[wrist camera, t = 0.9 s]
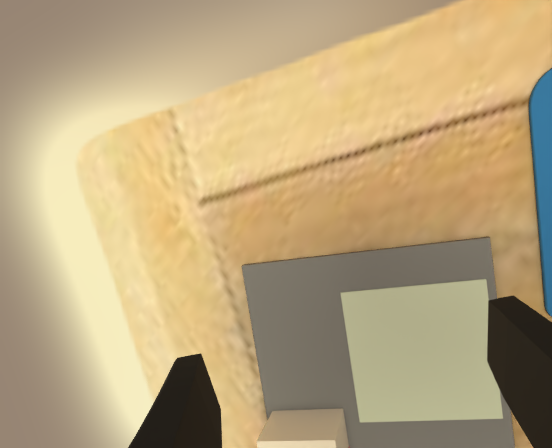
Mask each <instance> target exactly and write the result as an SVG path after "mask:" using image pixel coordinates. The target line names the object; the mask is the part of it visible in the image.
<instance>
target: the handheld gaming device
mask: <svg viewBox="0 0 552 448" xmlns="http://www.w3.org/2000/svg"><path fill="white" fill-rule="evenodd" d="M529 120H530V132H531V144H532V156H533V168H534V180H535V193H536V205H537V217H538V229H539V241H540V254H541V266H542V278H543V290H544V302H545V309H546V311H547V312H548V314H549V315H550V316H552V69H550V70H549V71H548V72H546V73H545V74H544V75H543V76H542V77H541V78H540V79H539V81H538V82H537V83H536V85H535V87H534V89H533V91H532V93H531V96H530V101H529Z"/></svg>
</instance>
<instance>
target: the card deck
mask: <svg viewBox="0 0 552 448" xmlns="http://www.w3.org/2000/svg"><path fill="white" fill-rule="evenodd" d="M257 446H258V448H350V446H349V444H348V437H347V431H346V424H345V418H344V411H343V408H340V409H310V410H281V411H272V413H271V415H270V417H269V419H268V421H267V423H266V425H265V426H264V428H263V430H262V432H261V434H260V436H259V438H258V440H257Z"/></svg>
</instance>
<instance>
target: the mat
mask: <svg viewBox="0 0 552 448" xmlns="http://www.w3.org/2000/svg"><path fill="white" fill-rule="evenodd" d="M242 271H243V277H244V283H245V289H246V295H247V301H248V307H249V313H250V319H251V324H252V330H253V336H254V342H255V348H256V354H257V360H258V366H259V372H260V378H261V384H262V390H263V396H264V402H265V408H266V414H267V420H268V419H269V417H270V415H271V413H272V411H281V410H310V409H340V408H343V411H344V418H345V424H346V431H347V437H348V444H349V446H350V448H515V444H514V435H513V427H512V419H511V410H510V408H509V406H508V405H507V403H506V401H505V399H504V397H503V395H502V393H501V391H500V389H499V387H498V385H497V382H496V380H495V378H494V376H493V373H492V371H491V369H490V367H489V364H488V362H487V341H488V300H493V299H497V293H496V285H495V276H494V268H493V260H492V251H491V243H490V237H483V238H474V239H465V240H457V241H448V242H439V243H430V244H421V245H413V246H404V247H395V248H386V249H377V250H369V251H360V252H351V253H342V254H333V255H325V256H316V257H307V258H298V259H289V260H281V261H272V262H263V263H254V264H245V265H242Z"/></svg>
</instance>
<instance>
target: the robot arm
mask: <svg viewBox="0 0 552 448" xmlns="http://www.w3.org/2000/svg"><path fill="white" fill-rule="evenodd" d="M487 362H488V364H489V367H490V369H491V371H492V373H493V376H494V378H495V380H496V382H497V385H498V387H499V389H500V391H501V393H502V395H503V397H504V399H505V401H506V403H507V405H508V406H509V408H510V410H511V411H512V413H513V415H514V416H515V418H516V420H517V421H518V423H519V425H520V426H521V428H522V430H523V431H524V433H525V434H526V436H527V438H528V439H529V441H530V443H531V444H532V446H533V448H552V322H550V321H549V320H548V319H546V318H545V317H543V316H542V315H540V314H539V313H538V312H536V311H535V310H533V309H532V308H530V307H529V306H528V305H526V304H525V303H523V302H522V301H520V300H519V299H517V298H516V297H515V296H509V297H504V298H498V299H493V300H488V341H487ZM128 448H222V430H221V408H220V406H219V403H218V400H217V397H216V394H215V392H214V389H213V386H212V383H211V380H210V377H209V375H208V372H207V369H206V366H205V363H204V360H203V358H202V355H201V354H196V355H190V356H185V357H180V358H177V359H176V361H175V362H174V364H173V366H172V368H171V370H170V372H169V374H168V376H167V378H166V380H165V382H164V384H163V386H162V388H161V390H160V392H159V394H158V396H157V398H156V400H155V402H154V403H153V405H152V407H151V409H150V411H149V413H148V414H147V416H146V418H145V420H144V422H143V424H142V425H141V427H140V429H139V430H138V432H137V434H136V436H135V437H134V439H133V441H132V442H131V444H130V445H129V447H128Z"/></svg>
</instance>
